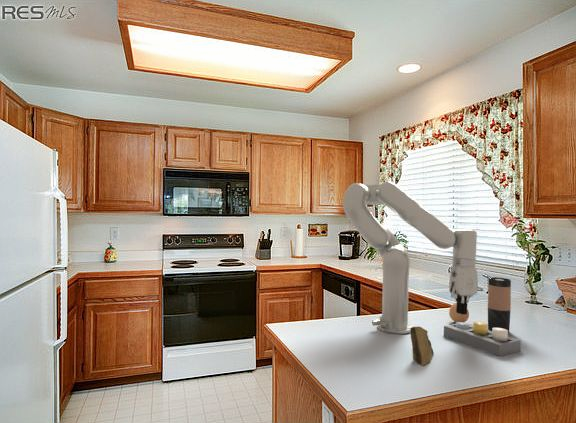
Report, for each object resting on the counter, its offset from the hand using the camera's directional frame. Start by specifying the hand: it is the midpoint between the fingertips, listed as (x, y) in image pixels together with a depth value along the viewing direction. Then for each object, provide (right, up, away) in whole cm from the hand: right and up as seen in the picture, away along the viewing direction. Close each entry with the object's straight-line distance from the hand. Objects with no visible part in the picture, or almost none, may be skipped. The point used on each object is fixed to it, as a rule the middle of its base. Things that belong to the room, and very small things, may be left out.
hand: (461, 313), depth 133 cm
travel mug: (+18, -9, +8) cm, 22 cm away
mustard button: (+3, -5, -6) cm, 9 cm away
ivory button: (+7, -5, -13) cm, 15 cm away
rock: (-21, -8, -22) cm, 32 cm away
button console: (+3, -9, -6) cm, 11 cm away
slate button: (0, -7, 0) cm, 7 cm away
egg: (+7, -9, +17) cm, 21 cm away
